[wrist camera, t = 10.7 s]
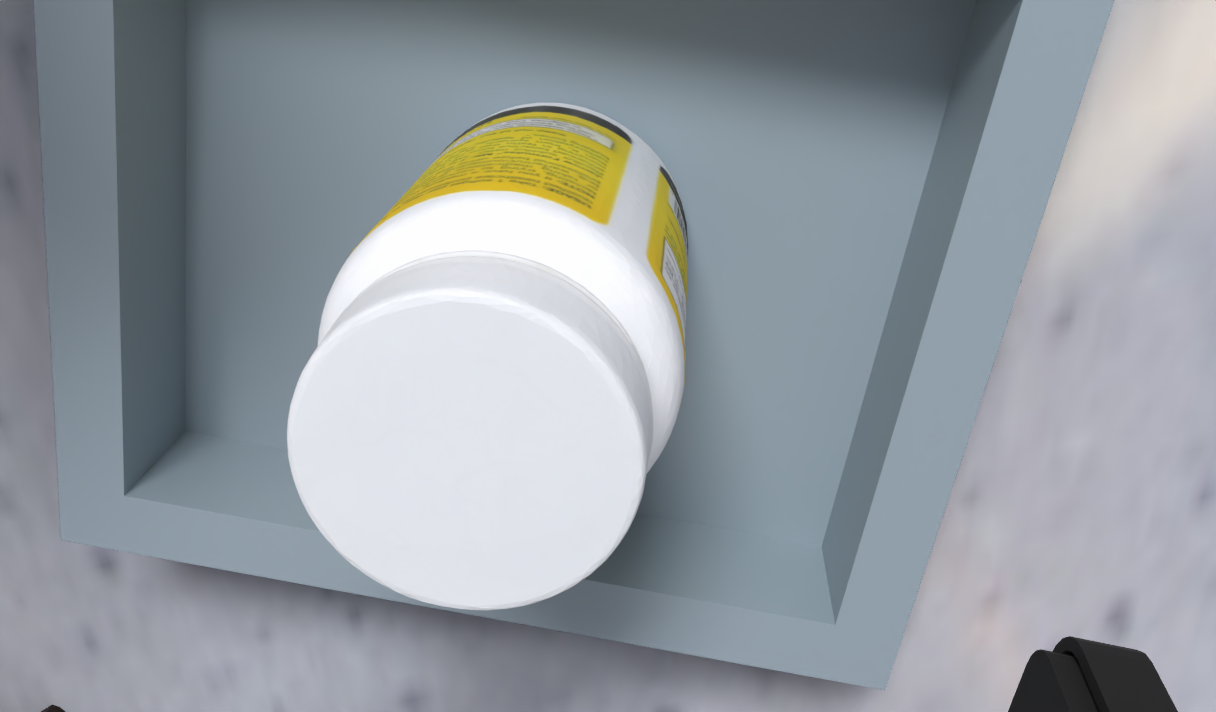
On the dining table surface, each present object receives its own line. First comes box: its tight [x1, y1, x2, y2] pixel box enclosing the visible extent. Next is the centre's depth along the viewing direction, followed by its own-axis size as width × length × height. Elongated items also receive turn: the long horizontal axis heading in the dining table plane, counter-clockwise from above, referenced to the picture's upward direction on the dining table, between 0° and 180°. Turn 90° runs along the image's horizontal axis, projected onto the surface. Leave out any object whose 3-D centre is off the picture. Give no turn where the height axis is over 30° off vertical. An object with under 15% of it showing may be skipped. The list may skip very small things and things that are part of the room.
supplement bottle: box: [287, 103, 688, 610], centre depth 16 cm, size 5×5×8 cm
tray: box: [33, 0, 1114, 690], centre depth 19 cm, size 15×13×3 cm
